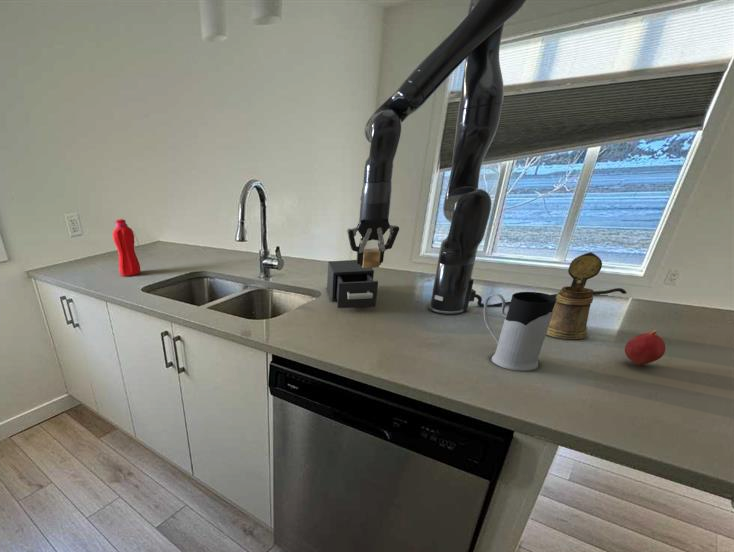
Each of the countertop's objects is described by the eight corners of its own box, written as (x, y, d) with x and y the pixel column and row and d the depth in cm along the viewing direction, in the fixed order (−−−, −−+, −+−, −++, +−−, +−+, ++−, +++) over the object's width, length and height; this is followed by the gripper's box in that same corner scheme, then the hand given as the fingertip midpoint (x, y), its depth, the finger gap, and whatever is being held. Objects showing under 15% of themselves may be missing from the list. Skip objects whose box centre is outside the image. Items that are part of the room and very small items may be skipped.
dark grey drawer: (378, 311, 122) (381, 286, 118) (339, 313, 123) (341, 288, 119) (366, 292, 138) (368, 269, 134) (332, 294, 140) (333, 271, 136)
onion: (611, 360, 87) (626, 326, 83) (636, 357, 88) (652, 323, 84) (637, 372, 82) (654, 337, 78) (664, 369, 83) (682, 333, 79)
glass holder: (520, 374, 86) (542, 306, 78) (461, 351, 97) (475, 290, 90) (547, 364, 88) (570, 298, 81) (487, 342, 100) (502, 283, 92)
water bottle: (142, 275, 191) (131, 219, 179) (119, 277, 191) (107, 221, 179) (145, 270, 199) (136, 216, 187) (123, 272, 200) (112, 219, 187)
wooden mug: (587, 324, 104) (615, 253, 95) (584, 342, 96) (613, 266, 87) (545, 318, 110) (567, 250, 101) (538, 335, 101) (562, 262, 92)
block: (375, 263, 117) (377, 248, 115) (379, 267, 113) (380, 251, 111) (359, 264, 118) (361, 249, 115) (362, 268, 114) (364, 252, 112)
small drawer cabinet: (371, 299, 134) (374, 270, 130) (332, 301, 136) (333, 272, 131) (362, 286, 148) (364, 259, 143) (327, 287, 150) (328, 261, 145)
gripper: (350, 204, 105) (346, 269, 113) (407, 199, 103) (399, 266, 111) (345, 201, 111) (341, 263, 119) (399, 196, 109) (391, 260, 118)
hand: (369, 264), depth 115 cm, fingers closed on block, 4 cm apart
